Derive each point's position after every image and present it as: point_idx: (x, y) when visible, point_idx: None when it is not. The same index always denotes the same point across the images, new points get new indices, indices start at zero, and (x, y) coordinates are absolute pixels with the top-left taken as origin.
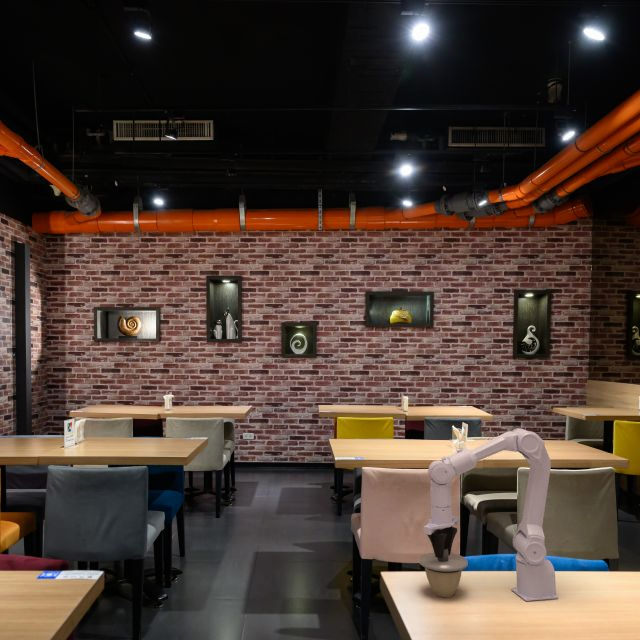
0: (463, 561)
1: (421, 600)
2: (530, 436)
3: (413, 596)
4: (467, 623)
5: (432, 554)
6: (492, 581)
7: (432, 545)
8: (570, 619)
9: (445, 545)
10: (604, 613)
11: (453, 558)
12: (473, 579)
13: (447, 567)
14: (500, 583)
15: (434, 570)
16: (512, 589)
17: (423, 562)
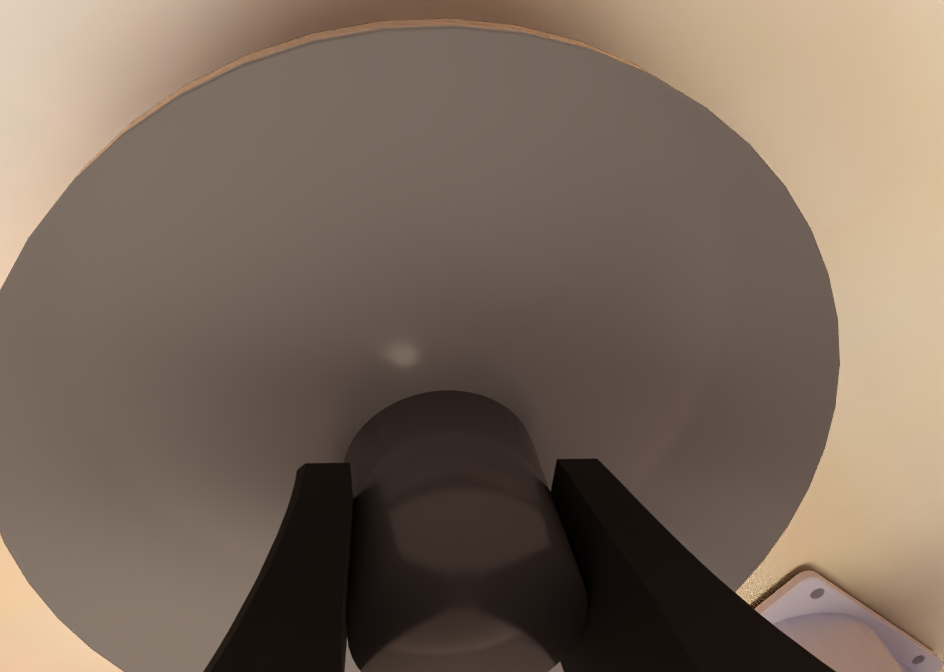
0: (560, 668)
1: (37, 149)
2: None
3: (46, 3)
4: (9, 641)
5: (610, 185)
6: (927, 407)
7: (234, 629)
8: None
9: (600, 650)
10: None
11: None
12: (912, 272)
13: (175, 667)
14: (906, 465)
15: None
16: (785, 594)
17: (47, 304)
